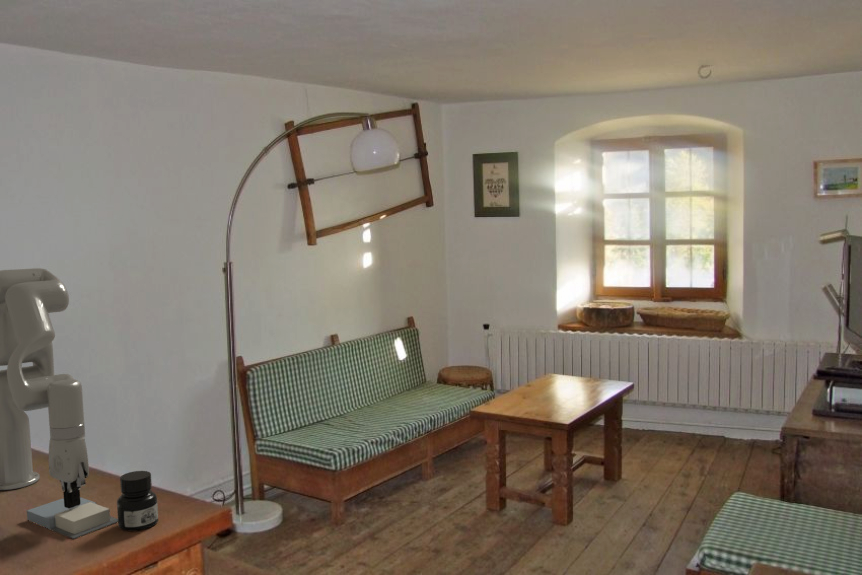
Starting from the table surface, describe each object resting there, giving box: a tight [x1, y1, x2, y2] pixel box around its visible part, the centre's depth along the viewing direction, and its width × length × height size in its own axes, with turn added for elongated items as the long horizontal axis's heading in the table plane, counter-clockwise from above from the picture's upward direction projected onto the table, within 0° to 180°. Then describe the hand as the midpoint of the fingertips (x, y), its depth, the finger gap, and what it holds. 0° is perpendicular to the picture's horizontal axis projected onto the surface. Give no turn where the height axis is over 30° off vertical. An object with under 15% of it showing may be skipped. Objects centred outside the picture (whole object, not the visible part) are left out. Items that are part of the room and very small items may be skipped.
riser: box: [26, 496, 97, 530], centre depth 188 cm, size 10×12×2 cm
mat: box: [50, 515, 118, 540], centre depth 183 cm, size 10×12×1 cm
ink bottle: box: [116, 470, 159, 532], centre depth 182 cm, size 10×9×12 cm
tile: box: [55, 502, 111, 534], centre depth 183 cm, size 8×9×3 cm
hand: (72, 505), depth 185 cm, fingers closed
